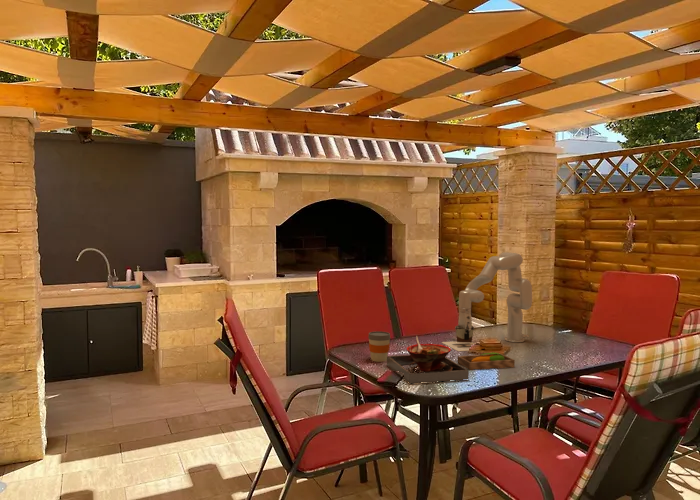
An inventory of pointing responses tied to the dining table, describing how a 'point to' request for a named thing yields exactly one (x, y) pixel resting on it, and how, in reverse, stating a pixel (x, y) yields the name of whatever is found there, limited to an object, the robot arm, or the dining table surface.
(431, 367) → the stew
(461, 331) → the food container
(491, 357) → the corn
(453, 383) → the dining table surface
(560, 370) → the dining table surface
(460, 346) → the letter board
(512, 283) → the robot arm
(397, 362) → the dark grey tray
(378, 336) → the reusable coffee cup
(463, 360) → the tray
